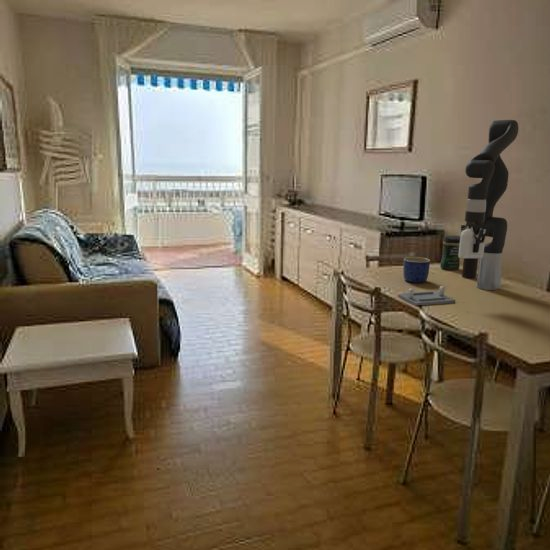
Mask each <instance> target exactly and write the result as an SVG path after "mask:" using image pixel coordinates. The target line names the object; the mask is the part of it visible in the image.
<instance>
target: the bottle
mask: <svg viewBox="0 0 550 550" xmlns="http://www.w3.org/2000/svg"><path fill="white" fill-rule="evenodd" d="M462 261H463V262H462V271H461V272H462V273H461V277H462V278H464V279H468V278H474V279H476V278H477V275H478V266H479V265H478V264H479V258H463V260H462Z"/></svg>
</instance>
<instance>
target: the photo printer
mask: <svg viewBox="0 0 550 550" xmlns="http://www.w3.org/2000/svg"><path fill="white" fill-rule="evenodd" d="M459 236H460V244H459V253H458V256H459V258H460V259H464V258H478V259H480V258H483V254H484V245H485V244H486V237H487V236H485V240H484V242H483V243H480V244H479V251H478V253H474V252H473V244H474V240H473V238H472V237H473V232H472V231H471V229H466V230H463V231H462V232H461V231H460V235H459ZM475 236H479V234H478V235H475ZM477 239H478V238H476V240H477ZM481 239H482V238H481Z"/></svg>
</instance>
